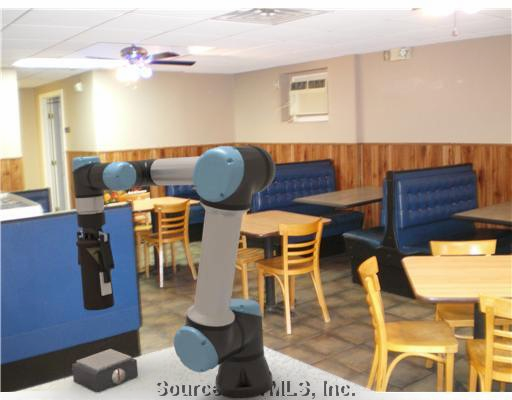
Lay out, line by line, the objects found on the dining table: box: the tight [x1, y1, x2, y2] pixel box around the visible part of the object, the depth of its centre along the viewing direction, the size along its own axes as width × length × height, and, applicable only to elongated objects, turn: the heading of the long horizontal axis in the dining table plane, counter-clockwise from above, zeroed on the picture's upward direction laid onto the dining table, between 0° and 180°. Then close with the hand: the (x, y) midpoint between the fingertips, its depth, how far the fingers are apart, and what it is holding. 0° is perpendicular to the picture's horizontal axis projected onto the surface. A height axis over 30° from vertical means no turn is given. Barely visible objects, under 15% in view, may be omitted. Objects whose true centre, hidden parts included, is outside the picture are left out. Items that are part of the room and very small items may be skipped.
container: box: [75, 238, 115, 311], centre depth 156 cm, size 9×9×20 cm
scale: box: [71, 348, 139, 393], centre depth 158 cm, size 14×13×6 cm
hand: (98, 291), depth 157 cm, fingers closed on container, 8 cm apart
